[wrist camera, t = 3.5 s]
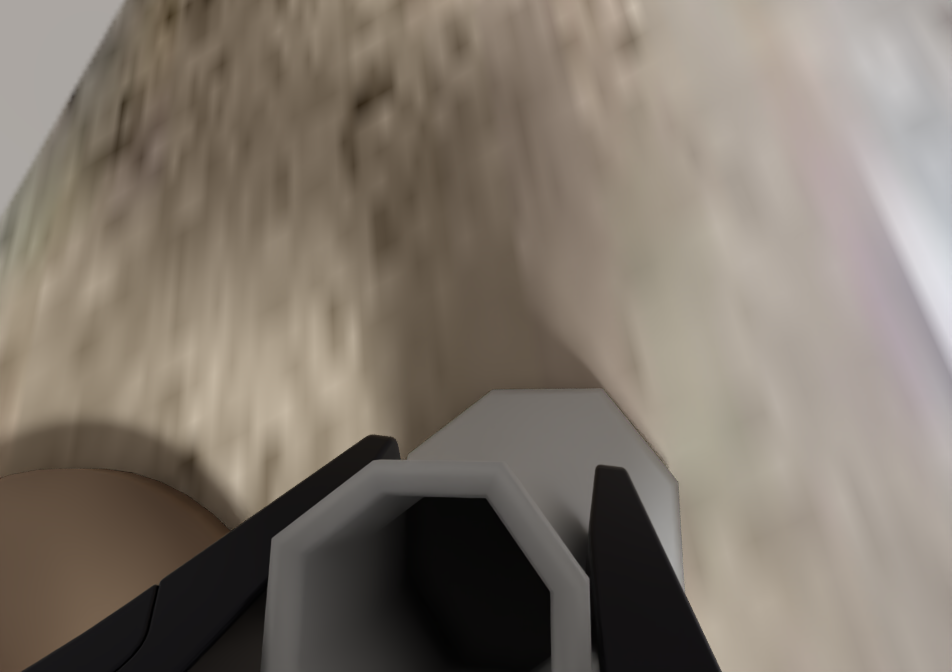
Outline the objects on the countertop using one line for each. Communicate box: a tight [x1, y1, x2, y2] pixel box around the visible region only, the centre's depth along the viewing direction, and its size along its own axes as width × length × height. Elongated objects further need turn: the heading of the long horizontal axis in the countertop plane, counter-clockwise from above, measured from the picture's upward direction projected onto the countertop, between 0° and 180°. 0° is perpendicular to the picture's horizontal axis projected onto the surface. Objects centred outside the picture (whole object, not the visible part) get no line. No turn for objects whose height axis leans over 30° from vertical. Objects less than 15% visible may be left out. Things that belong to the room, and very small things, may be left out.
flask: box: [260, 388, 685, 672], centre depth 10 cm, size 7×7×10 cm
